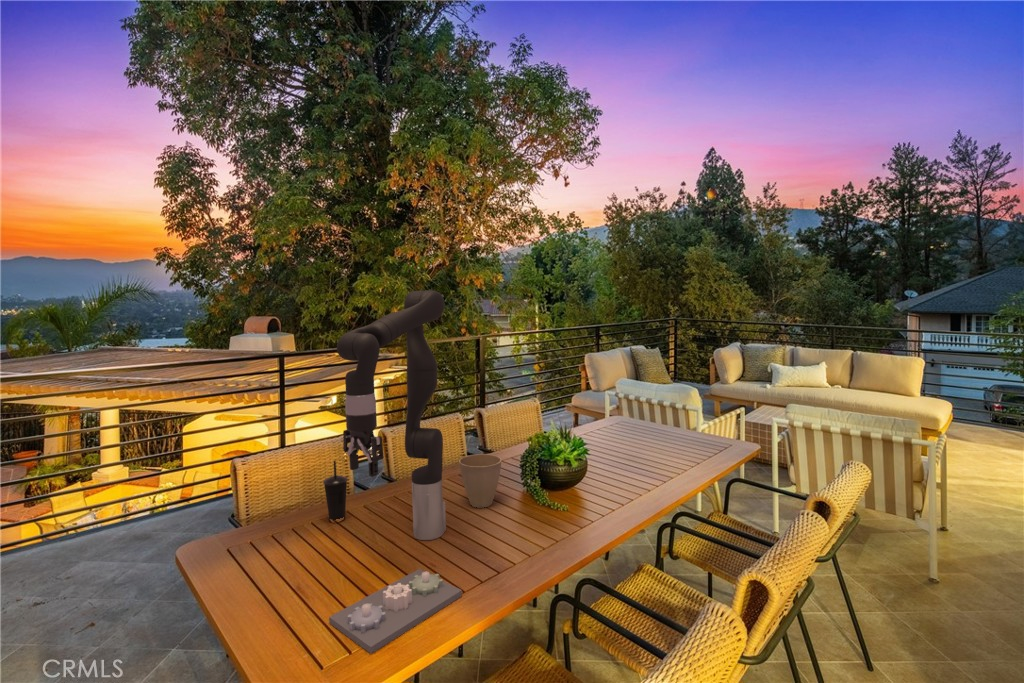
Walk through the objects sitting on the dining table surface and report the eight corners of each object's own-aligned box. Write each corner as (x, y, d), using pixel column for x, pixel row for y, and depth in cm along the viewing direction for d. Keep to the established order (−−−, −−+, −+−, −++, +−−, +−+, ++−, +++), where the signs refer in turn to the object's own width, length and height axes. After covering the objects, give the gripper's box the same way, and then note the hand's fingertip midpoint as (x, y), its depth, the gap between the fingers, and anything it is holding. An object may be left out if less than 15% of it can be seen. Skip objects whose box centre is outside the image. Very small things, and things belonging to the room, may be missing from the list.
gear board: (419, 574, 134) (418, 556, 134) (461, 596, 124) (461, 576, 123) (329, 623, 114) (328, 602, 114) (371, 654, 104) (370, 630, 103)
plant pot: (508, 508, 176) (507, 463, 174) (467, 515, 170) (466, 469, 169) (494, 493, 189) (493, 451, 188) (455, 499, 184) (454, 456, 183)
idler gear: (400, 591, 123) (400, 580, 123) (417, 601, 119) (417, 589, 119) (377, 604, 118) (377, 592, 118) (395, 615, 114) (394, 602, 114)
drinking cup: (352, 514, 172) (349, 457, 171) (345, 524, 165) (342, 464, 163) (329, 515, 172) (326, 457, 171) (321, 525, 165) (318, 465, 163)
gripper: (390, 411, 128) (392, 474, 130) (357, 405, 137) (360, 463, 139) (364, 417, 122) (367, 482, 124) (332, 409, 132) (335, 470, 133)
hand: (363, 472), depth 131 cm, fingers open, 8 cm apart
